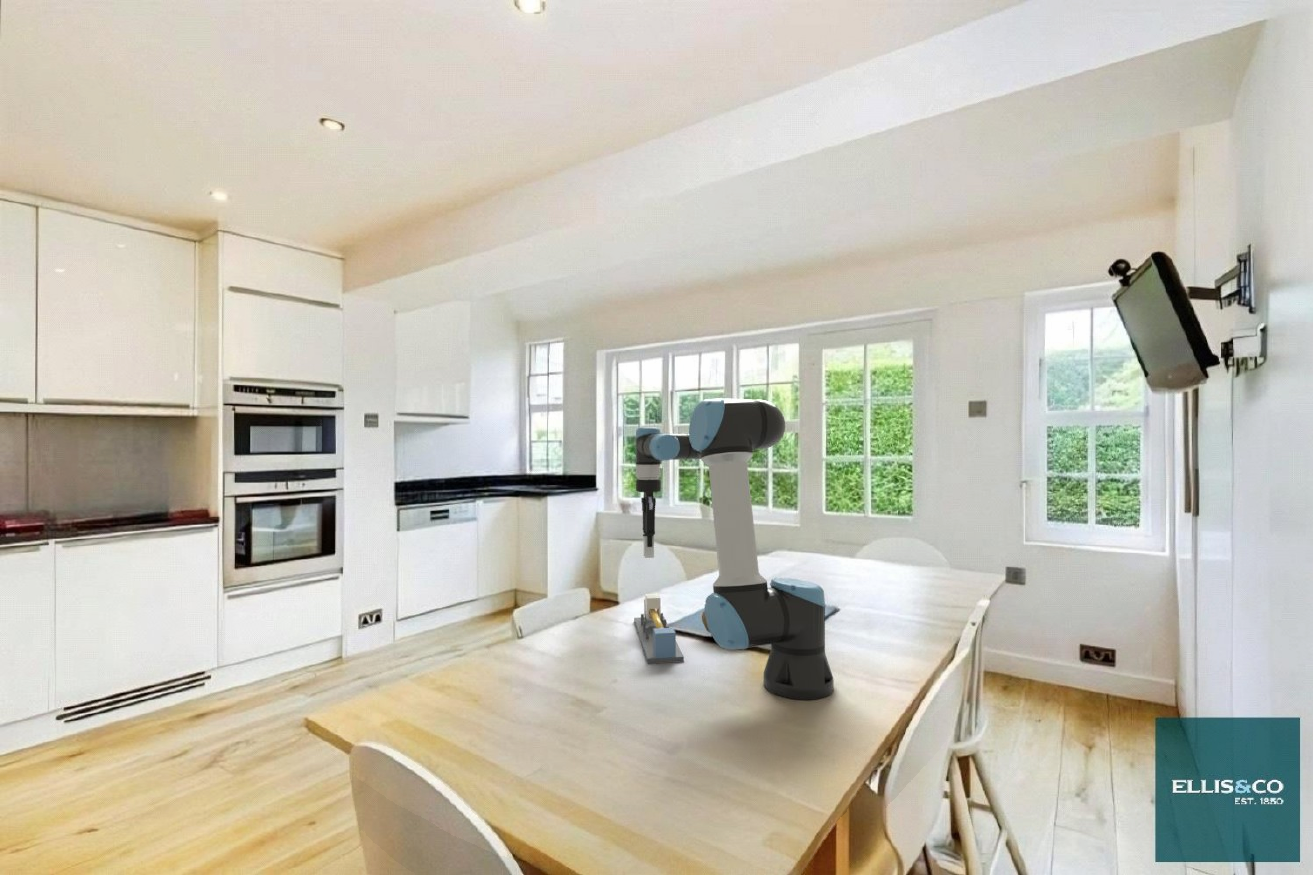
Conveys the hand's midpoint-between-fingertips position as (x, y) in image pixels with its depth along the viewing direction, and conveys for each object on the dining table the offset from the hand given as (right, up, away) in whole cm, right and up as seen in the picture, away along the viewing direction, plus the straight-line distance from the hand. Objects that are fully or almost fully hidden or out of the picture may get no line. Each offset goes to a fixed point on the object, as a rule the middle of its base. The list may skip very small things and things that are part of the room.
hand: (648, 556), depth 181 cm
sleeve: (+1, -16, -9) cm, 18 cm away
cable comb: (+2, -19, -17) cm, 26 cm away
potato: (+21, -20, -16) cm, 33 cm away
